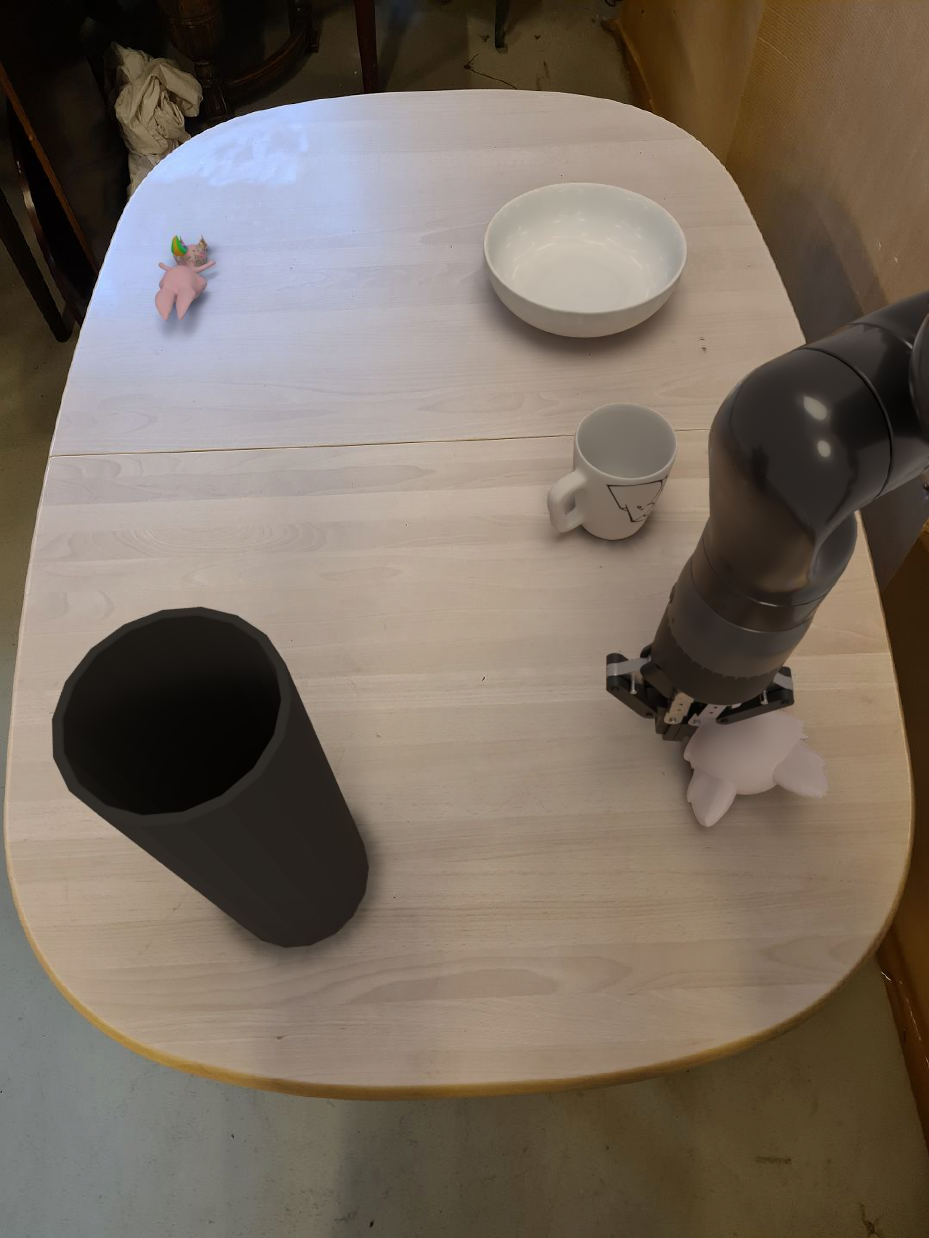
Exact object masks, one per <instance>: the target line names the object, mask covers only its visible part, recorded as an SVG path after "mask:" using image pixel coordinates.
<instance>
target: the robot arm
mask: <svg viewBox="0 0 929 1238" xmlns="http://www.w3.org/2000/svg"><path fill="white" fill-rule="evenodd" d="M707 439H708V441H707V455H708V457H707V459H708V502H709V503H708V505H709V516H708V518H707V521H706V523H705V526H704V528H703V529H702V532H701V535H700V537H699V539H698V542H697V544H696V548H695V549H694V551H693V553H692V554H691V555H690V557H688V560H686V562H685V564H684V565H683V568H682V569H681V571H680V573H679V575H678V578H677V580H676V581H675V582H674V585H672V587H671V590H670V593H669V597H668V599H669V600H668V602H667V604H666V606H665V607H666V608H665V610H664V612H663V615H662V617H661V619H660V622H659V624H658V627H657V629H656V631H655V635H654V638H653V641H652V642H651V643H649V644H647V645H646V646H644V647H643V648H642V649H641V650H640V653H639V657H638V658H632V659H629V658H627V657H626V656H624V655H623V654H622V653H618V652H613V653H612V652H611V653H609V654H607V655H606V657H605V690H606V692H608V693H609V694H610V695H612V696H613V697H614V698H616V699H617V700H618V701H620V702H621V703H622V704H623V705H625V706H626V707H627V708H629V709H630V710H632V711H633V712H634V713H636V715H638V716H640V717H641V718H643V719H654V732H655V734H656V735H661V740H662V741H664V742H665V741H666V742H677V743H683V741H684V739H685V738H686V737H691V736H693V735H694V733H695V732H696V731H697V729H698V728H699V726H702V725H704V724H705V723H706V722H707V721H708V720H709V719H716V723H717V724H721V725H728V724H732V723H735V722H738V721H742V720H745V719H748V718H752V717H755V716H758V715H761V714H765V713H768V712H771V711H775V710H782V709H784V708H788V707H792V706H793V705H795V695H794V693H795V691H794V690H795V689H794V687H793V681H792V676H791V675H792V669H791V668H790V667H789V666H787V665H785V663H786V662H787V660H788V659H789V658H790V656H791V655H792V653H793V652H794V651H795V649H797V647H798V645H799V644H800V643H801V641H802V640H803V639H804V637H805V636H806V634H807V632H808V631H809V628H810V627H811V625H812V623H813V620H814V618H815V615H816V612H817V611H818V609H819V607H820V606H821V605H822V603H823V602H824V600H825V599H826V598H827V597H828V595H829V593H830V592H831V591H832V589H833V588H834V587H835V586H836V584H837V582H838V581H839V579H840V578H841V577H842V575H843V574H844V572H845V571H846V569H847V567H848V565H849V563H850V561H851V559H852V556H853V554H854V553H855V549H856V544H857V540H858V521H857V520H858V519H857V516H856V512H857V511H859V510H860V509H862V508H864V507H866V506H867V505H870V504H871V503H873V502H875V501H877V500H878V499H880V498H882V497H884V496H885V495H887V494H889V493H890V492H892V491H894V490H895V489H898V488H899V487H901V486H902V485H904V484H906V483H908V482H909V481H911V480H913V479H916V478H918V477H919V476H921V475H922V474H924V473H927V472H928V471H929V289H926V290H923V291H920V292H917V293H915V294H911V295H909V296H907V297H904V298H901V299H899V300H896V301H894V302H891V303H889V304H886V305H884V306H882V307H880V308H877V309H875V310H872V311H870V312H868V313H866V314H864V315H861V316H859V317H857V318H855V319H853V320H851V321H849V322H846V323H845V324H842V325H840V326H838V327H836V328H834V329H831V330H830V331H828V332H826V333H823V334H822V335H820V336H818V337H815V338H814V339H812V340H810V341H807V342H806V343H804V344H802V345H800V346H797V347H796V348H793V349H792V350H790V351H787V352H784V353H783V354H781V355H778V356H777V357H775V358H772V359H770V360H769V361H766V362H764V363H763V364H761V365H759V366H757V367H755V368H754V369H752V371H750V372H748V373H747V374H746V375H745V376H744V377H742V378H741V379H740V380H739V381H738V382H737V383H735V385H734V387H733V388H732V389H731V390H730V392H729V393H728V394H727V395H726V397H725V398H724V400H723V401H722V403H721V405H720V406H719V408H718V409H717V411H716V413H715V415H714V418H713V420H712V423H711V425H710V429H709V433H708V438H707ZM784 665H785V666H784ZM740 703H741V705H740V706H739V707H736V708H732V705H735V704H740Z"/></svg>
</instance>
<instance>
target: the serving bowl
mask: <svg viewBox="0 0 929 1238" xmlns="http://www.w3.org/2000/svg"><path fill="white" fill-rule="evenodd" d="M485 228H486V229H485V231H484V236H483V239H482V240H483V241H482V248H483V249H482V252H483V259H484V266H485V269H486V273H487V277H488V279H489V282H490V284H491V286H492V288H493V290H494V292H495V294H496V295H497V296H498V298H499V300H500V301H501V302H502V303H503V305H505V306H506V308H507V309H508V310H510V312H512V314H514V315H516V316H517V317H518V318H519V319H520V320H522V321H523V322H525V323H527V324H528V325H531V326H533V327H534V328H537V329H539V330H541V331H544V332H548V333H550V334H554V335H559V336H563V337H570V338H598V337H605V336H610V335H613V334H618V333H621V332H624V331H627V330H629V329H631V328H633V327H635V326H637V325H639V324H641V323H643V322H644V321H646V320H648V319H649V318H650V317H651V316H653V314H655V313H657V311H658V310H660V309H661V308H662V306H664V304H665V303H666V302H667V301H668V300H669V298H670V297H671V295H672V294H673V293H674V291H675V289H676V287H677V285H678V284H679V281H680V280H681V277H682V275H683V272H684V270H685V268H686V265H687V260H688V243H687V238H686V235H685V233H684V230H683V229H682V227H681V226H680V224H679V222H678V221H677V219H675V218H674V217H673V215H672V214H671V213H669V211H668V210H666V209H665V208H664V207H663V206H661V205H660V204H659V203H657V202H656V201H654V200H652V199H650V198H649V197H647V196H644V195H642V194H640V193H637V192H635V191H633V190H629V189H626V188H624V187H619V186H615V185H610V184H605V183H598V182H597V183H596V182H585V181H583V182H582V181H579V182H578V181H574V182H573V181H572V182H562V183H554V184H549V185H544V186H540V187H537V188H534V189H531V190H528V191H526V192H523V193H522V194H519V195H518V196H516V197H514V198H512V199H510V200H509V201H508V202H505V204H503V206H502V207H500V208H499V209H498V210H497V211H496V213H494V214H493V216H492V217H491V219H490V220H489V222H488V224H487V226H486V227H485Z"/></svg>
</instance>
